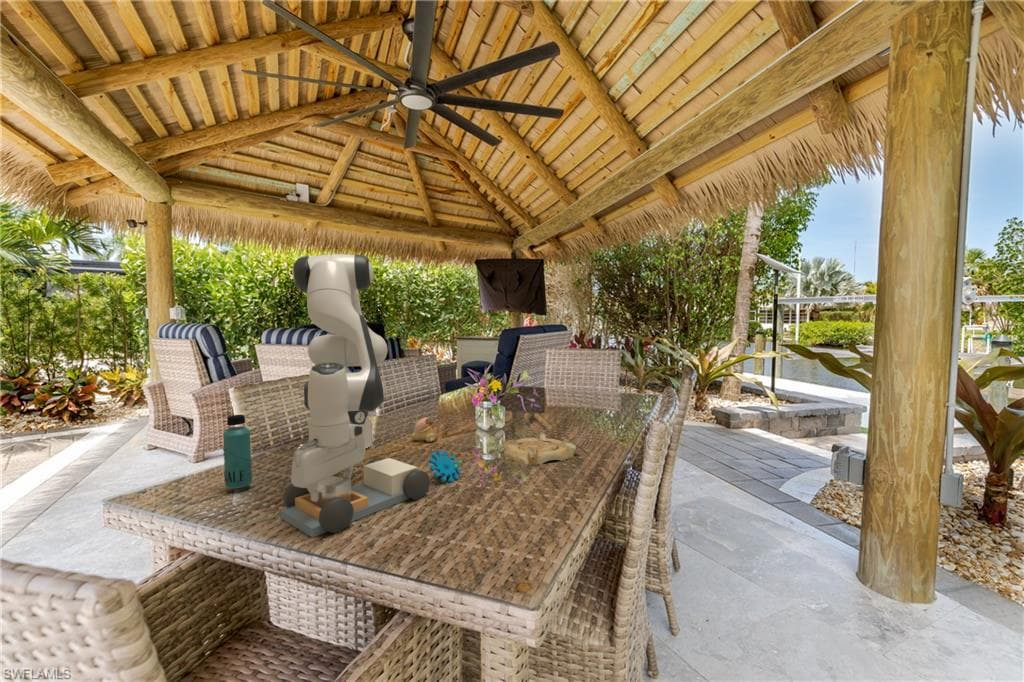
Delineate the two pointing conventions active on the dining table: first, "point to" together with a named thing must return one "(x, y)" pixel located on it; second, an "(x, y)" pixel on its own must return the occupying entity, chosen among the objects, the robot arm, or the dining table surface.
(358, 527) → the dining table surface
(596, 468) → the dining table surface
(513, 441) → the ashtray
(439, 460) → the gear
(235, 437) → the beverage bottle
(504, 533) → the dining table surface
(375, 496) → the chassis
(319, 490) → the block
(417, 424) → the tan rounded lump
